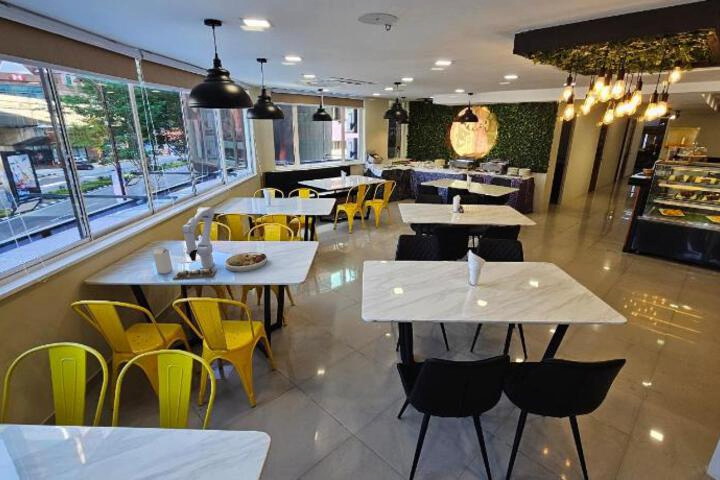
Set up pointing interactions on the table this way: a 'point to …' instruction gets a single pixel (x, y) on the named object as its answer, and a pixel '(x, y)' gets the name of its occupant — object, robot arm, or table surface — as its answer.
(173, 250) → the table surface
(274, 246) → the table surface
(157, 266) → the milk carton
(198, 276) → the panel
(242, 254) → the bowl
